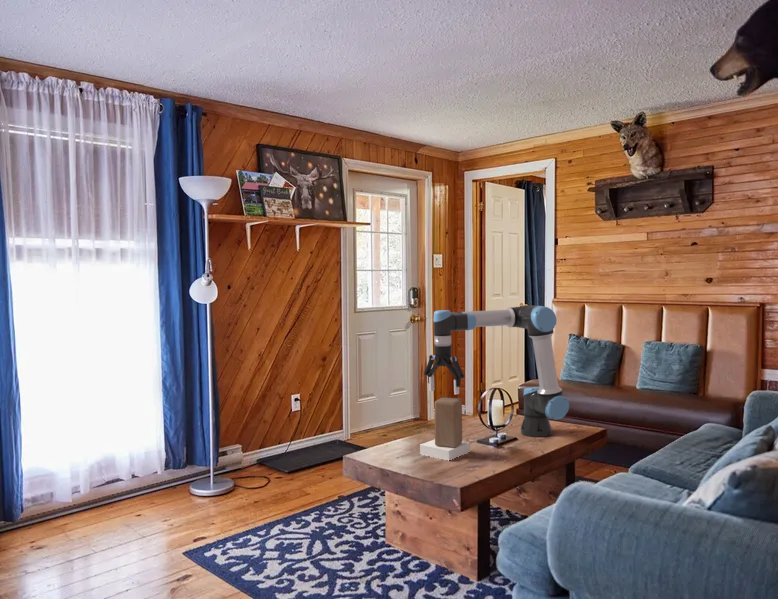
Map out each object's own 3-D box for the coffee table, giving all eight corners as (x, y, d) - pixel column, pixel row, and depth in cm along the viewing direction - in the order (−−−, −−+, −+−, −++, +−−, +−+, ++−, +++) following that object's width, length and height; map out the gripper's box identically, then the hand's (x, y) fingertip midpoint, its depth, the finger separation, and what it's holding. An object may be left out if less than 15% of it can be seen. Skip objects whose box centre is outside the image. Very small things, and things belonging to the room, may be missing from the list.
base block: (470, 453, 274) (470, 442, 274) (449, 462, 262) (448, 450, 262) (441, 447, 285) (441, 436, 285) (420, 455, 273) (419, 444, 273)
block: (455, 448, 265) (455, 403, 264) (434, 446, 269) (433, 401, 268) (463, 442, 274) (462, 398, 273) (442, 439, 278) (441, 396, 277)
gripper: (415, 344, 277) (417, 390, 278) (461, 347, 261) (462, 396, 262) (425, 342, 283) (427, 388, 284) (471, 345, 266) (472, 394, 267)
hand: (444, 392), depth 273 cm, fingers open, 13 cm apart
